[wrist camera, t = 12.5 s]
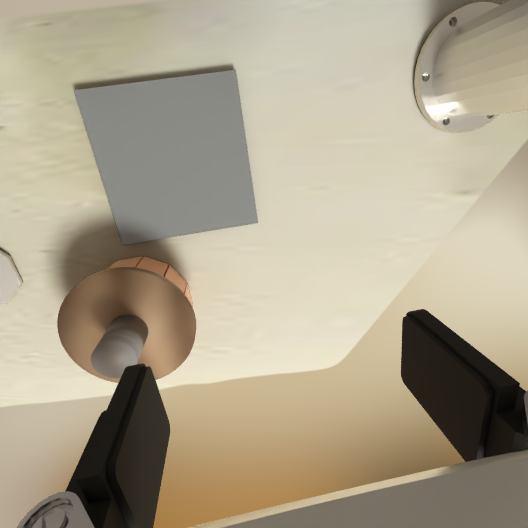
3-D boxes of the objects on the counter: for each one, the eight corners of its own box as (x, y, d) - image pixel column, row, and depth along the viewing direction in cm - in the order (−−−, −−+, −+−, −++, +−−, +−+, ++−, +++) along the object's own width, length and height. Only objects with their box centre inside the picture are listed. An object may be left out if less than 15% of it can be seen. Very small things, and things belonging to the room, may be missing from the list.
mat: (235, 71, 32) (235, 69, 31) (257, 221, 38) (258, 222, 37) (77, 92, 31) (73, 90, 30) (125, 242, 37) (122, 245, 36)
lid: (179, 255, 32) (171, 278, 27) (207, 364, 37) (205, 402, 32) (40, 280, 31) (1, 308, 26) (88, 388, 36) (64, 431, 31)
